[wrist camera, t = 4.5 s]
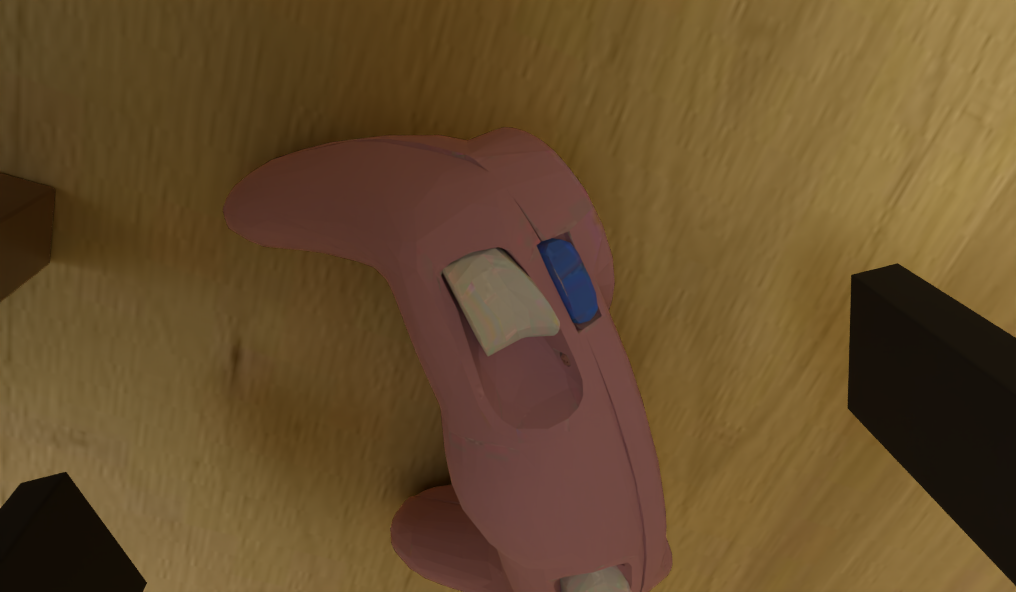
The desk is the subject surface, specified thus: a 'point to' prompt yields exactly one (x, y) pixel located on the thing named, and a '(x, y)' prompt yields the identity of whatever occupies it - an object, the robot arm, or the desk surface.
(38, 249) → the shelf stand
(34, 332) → the desk surface
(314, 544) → the desk surface
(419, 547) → the video game controller
